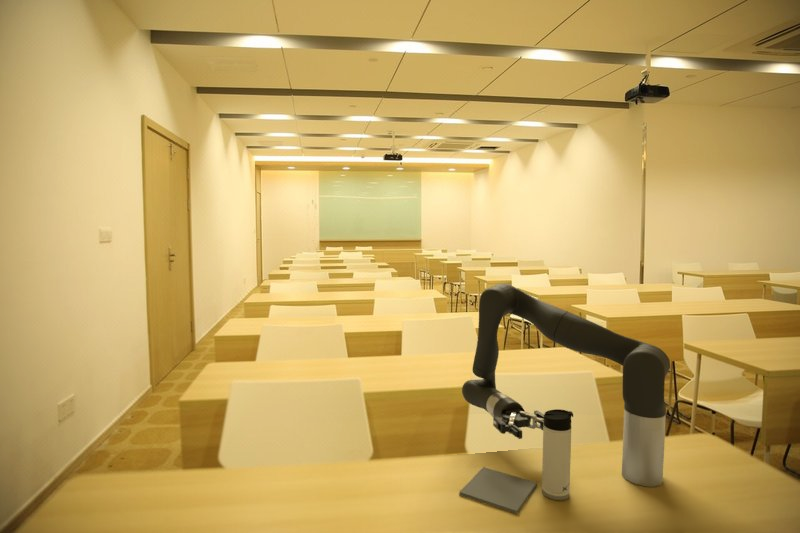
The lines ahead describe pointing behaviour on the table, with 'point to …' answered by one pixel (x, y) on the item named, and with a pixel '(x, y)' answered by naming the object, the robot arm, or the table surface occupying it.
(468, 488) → the gray mat
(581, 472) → the table surface
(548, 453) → the travel mug
